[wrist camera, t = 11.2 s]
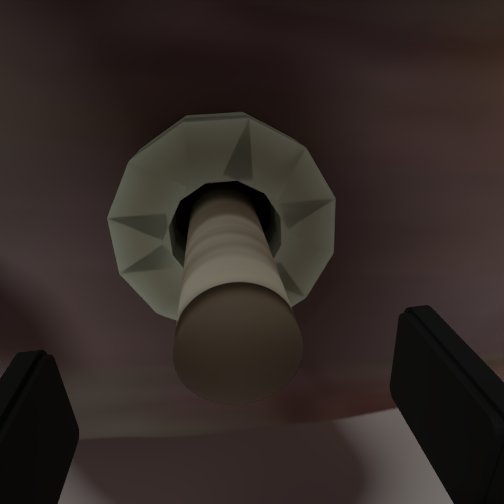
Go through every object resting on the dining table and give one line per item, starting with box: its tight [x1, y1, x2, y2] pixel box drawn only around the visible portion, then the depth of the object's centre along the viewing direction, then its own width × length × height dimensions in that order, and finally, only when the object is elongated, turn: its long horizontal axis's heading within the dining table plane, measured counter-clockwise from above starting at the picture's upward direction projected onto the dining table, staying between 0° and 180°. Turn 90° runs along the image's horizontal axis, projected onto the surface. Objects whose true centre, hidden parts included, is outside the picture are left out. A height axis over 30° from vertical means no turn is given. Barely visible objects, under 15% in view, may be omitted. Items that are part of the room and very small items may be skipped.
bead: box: [107, 112, 336, 320], centre depth 23 cm, size 12×12×4 cm
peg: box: [173, 182, 304, 405], centre depth 18 cm, size 4×4×14 cm
